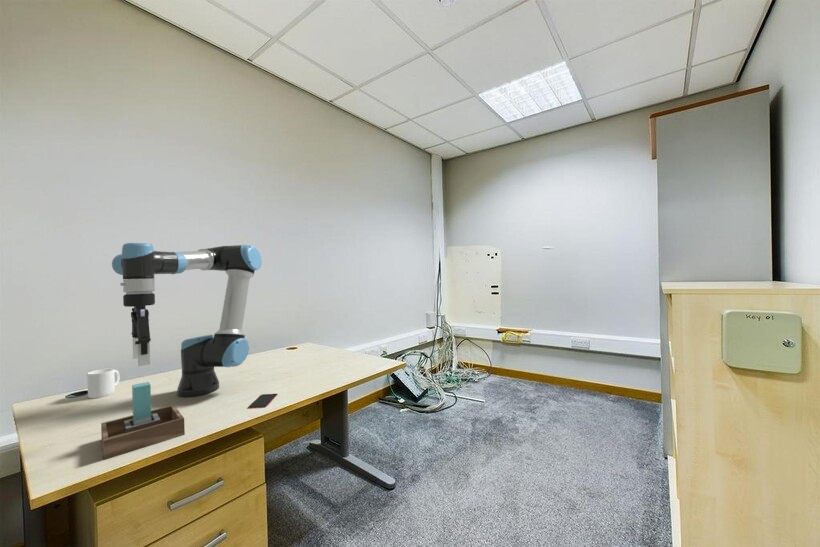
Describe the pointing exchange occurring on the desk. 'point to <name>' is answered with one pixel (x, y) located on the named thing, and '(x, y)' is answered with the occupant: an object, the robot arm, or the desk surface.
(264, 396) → the smartphone
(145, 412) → the connector plug
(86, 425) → the desk surface
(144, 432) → the connector box
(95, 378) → the cup
